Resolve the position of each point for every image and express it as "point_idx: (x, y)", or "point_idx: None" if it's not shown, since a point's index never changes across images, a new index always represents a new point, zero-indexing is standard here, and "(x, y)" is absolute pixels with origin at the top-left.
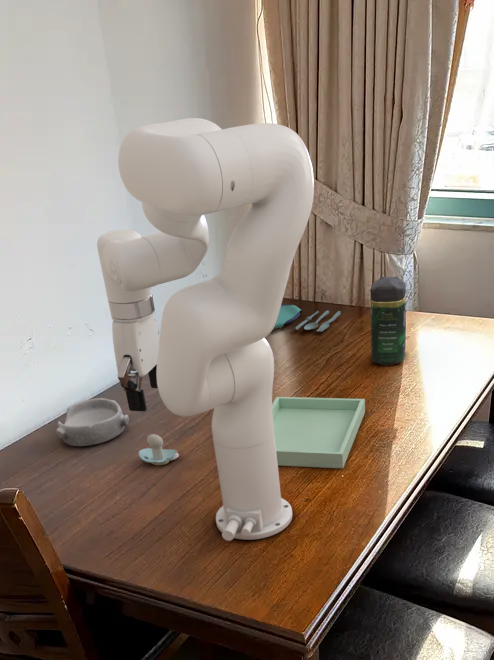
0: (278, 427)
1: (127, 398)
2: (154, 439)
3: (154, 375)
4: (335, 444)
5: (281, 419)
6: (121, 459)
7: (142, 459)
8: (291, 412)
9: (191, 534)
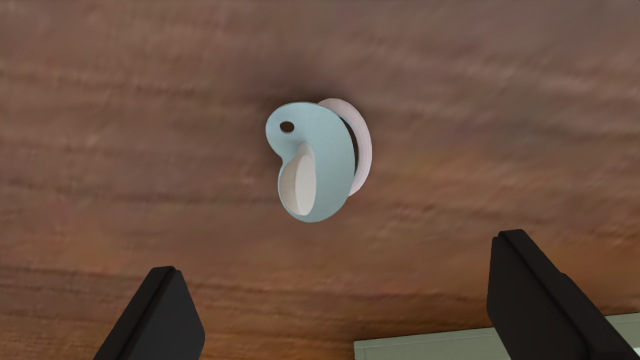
0: None
1: (113, 331)
2: (284, 203)
3: (537, 338)
4: None
5: None
6: (294, 4)
7: (266, 126)
8: None
9: (68, 353)
